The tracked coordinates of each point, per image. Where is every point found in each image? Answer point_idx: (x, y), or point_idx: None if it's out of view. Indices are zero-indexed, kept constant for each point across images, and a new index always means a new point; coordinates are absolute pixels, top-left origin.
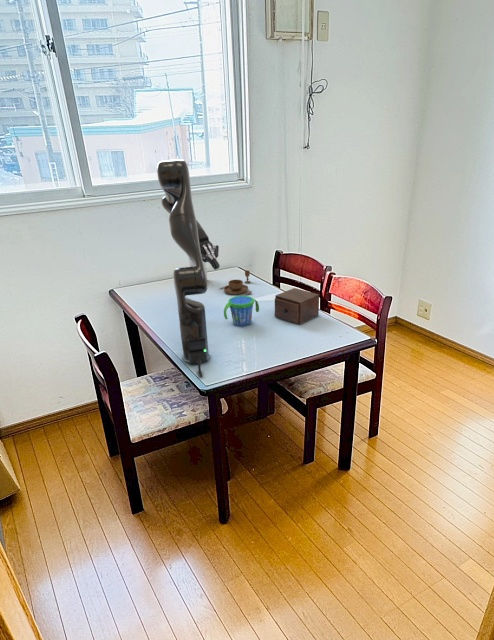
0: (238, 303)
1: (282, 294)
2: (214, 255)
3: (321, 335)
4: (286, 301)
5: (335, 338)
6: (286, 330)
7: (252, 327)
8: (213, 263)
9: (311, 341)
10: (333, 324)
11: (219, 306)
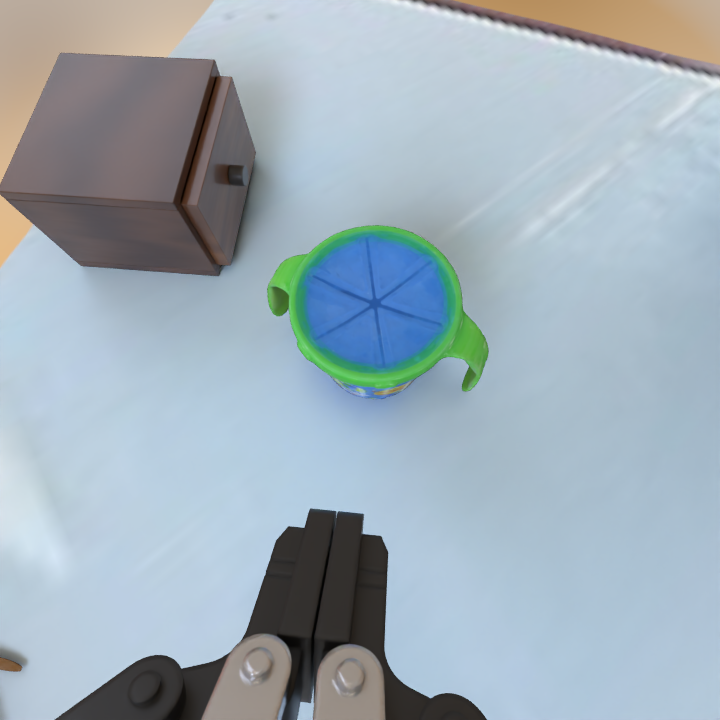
0: (416, 291)
1: (139, 181)
2: (211, 716)
3: (298, 58)
4: (209, 137)
5: (295, 20)
6: (329, 163)
7: None
8: (370, 591)
9: (363, 58)
10: None
11: None
